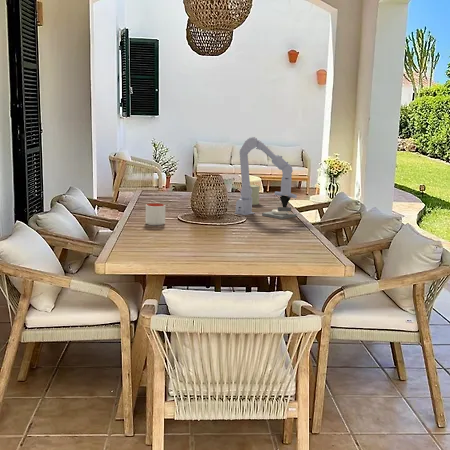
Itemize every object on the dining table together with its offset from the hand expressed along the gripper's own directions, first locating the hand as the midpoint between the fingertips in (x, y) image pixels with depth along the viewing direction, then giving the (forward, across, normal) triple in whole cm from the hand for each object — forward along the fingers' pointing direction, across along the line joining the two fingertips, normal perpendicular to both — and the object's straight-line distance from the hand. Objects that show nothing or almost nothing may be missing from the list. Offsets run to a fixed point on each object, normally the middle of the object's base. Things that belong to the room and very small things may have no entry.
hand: (284, 209), depth 350 cm
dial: (+2, +1, +3) cm, 4 cm away
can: (+4, +40, -19) cm, 44 cm away
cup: (+5, +25, +76) cm, 81 cm away
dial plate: (+4, +1, +3) cm, 5 cm away
